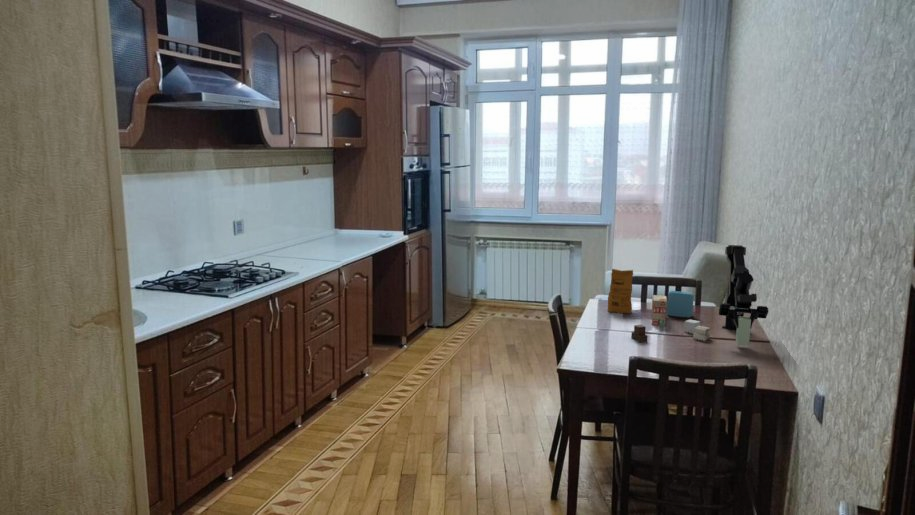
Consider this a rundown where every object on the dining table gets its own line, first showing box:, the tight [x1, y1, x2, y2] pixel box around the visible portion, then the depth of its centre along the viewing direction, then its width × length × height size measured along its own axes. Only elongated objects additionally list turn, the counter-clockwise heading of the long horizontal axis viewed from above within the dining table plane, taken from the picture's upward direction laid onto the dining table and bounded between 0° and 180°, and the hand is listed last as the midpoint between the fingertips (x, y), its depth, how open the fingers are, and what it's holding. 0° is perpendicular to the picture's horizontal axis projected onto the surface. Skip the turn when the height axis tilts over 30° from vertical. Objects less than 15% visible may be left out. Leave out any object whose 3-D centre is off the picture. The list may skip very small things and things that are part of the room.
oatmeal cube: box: [692, 325, 711, 342], centre depth 282 cm, size 5×5×5 cm
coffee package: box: [607, 268, 634, 314], centre depth 330 cm, size 10×12×22 cm
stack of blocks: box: [651, 294, 668, 327], centre depth 314 cm, size 21×6×12 cm, turn 164°
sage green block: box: [735, 316, 752, 347], centre depth 268 cm, size 4×4×11 cm
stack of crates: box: [631, 324, 649, 343], centre depth 280 cm, size 15×15×7 cm
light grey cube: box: [683, 319, 701, 335], centre depth 293 cm, size 5×5×5 cm
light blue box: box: [666, 290, 695, 319], centre depth 323 cm, size 12×4×12 cm, turn 66°
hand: (744, 328), depth 267 cm, fingers closed on sage green block, 4 cm apart
